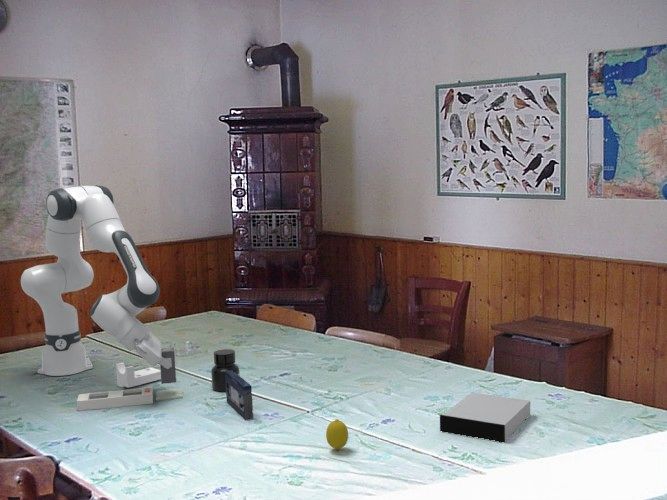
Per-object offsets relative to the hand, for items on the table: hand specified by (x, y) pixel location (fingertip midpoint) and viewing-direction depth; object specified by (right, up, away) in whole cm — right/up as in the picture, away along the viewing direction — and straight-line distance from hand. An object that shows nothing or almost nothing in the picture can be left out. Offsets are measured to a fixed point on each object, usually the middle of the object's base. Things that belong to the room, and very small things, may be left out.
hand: (169, 364), depth 239 cm
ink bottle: (+17, -9, +7) cm, 20 cm away
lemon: (+52, -15, -47) cm, 72 cm away
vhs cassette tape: (+24, -12, -15) cm, 30 cm away
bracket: (-13, -9, +16) cm, 22 cm away
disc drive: (+93, -12, -32) cm, 99 cm away
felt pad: (0, -10, +1) cm, 10 cm away
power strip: (-15, -11, -5) cm, 20 cm away
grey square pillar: (0, -5, 0) cm, 5 cm away
